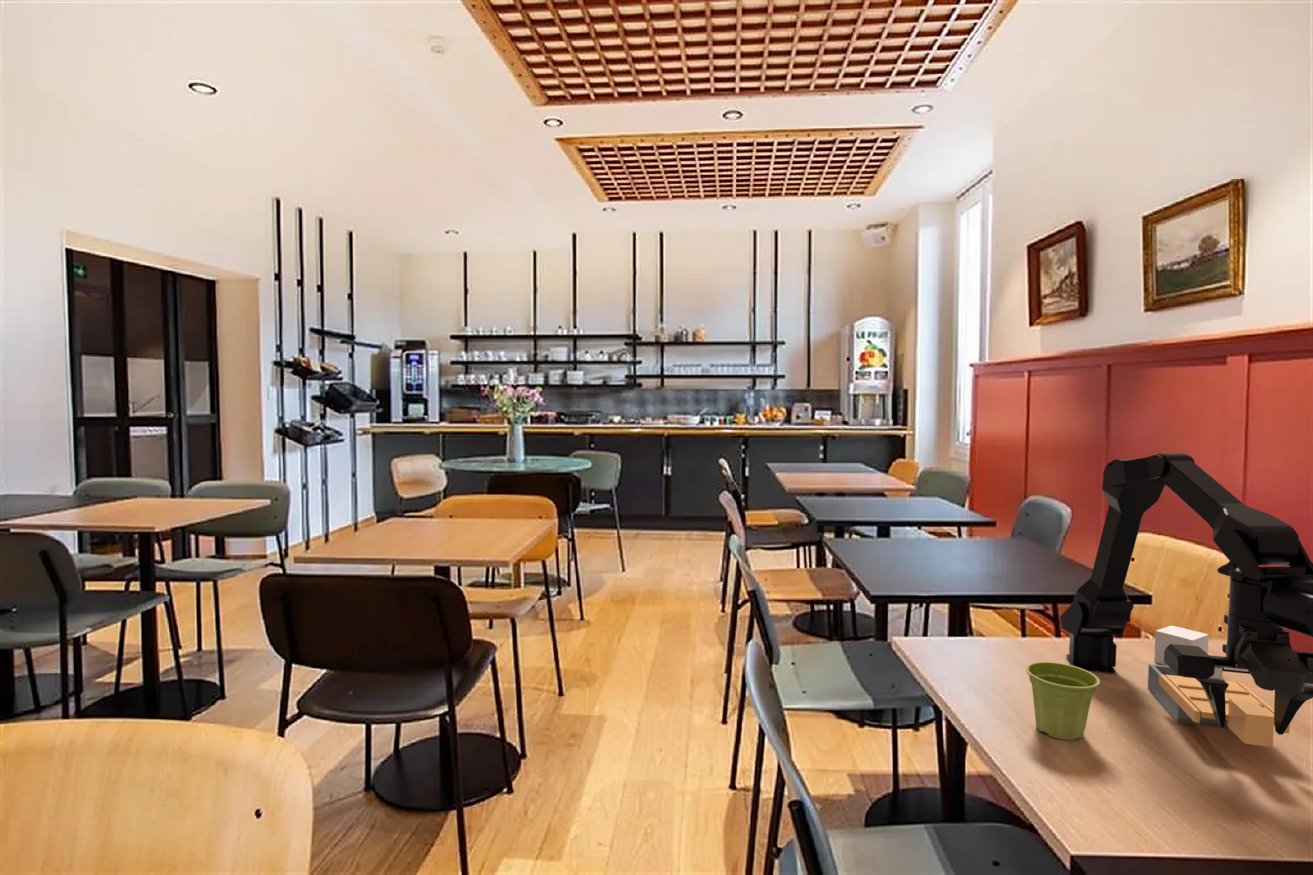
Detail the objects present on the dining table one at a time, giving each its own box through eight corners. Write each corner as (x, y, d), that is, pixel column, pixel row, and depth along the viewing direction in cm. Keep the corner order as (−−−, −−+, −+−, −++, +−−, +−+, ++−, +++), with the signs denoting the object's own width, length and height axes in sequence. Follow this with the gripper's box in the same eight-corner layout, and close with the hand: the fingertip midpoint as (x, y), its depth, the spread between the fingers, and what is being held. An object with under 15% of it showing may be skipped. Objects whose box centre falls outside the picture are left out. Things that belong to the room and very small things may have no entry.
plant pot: (1088, 722, 108) (1090, 666, 107) (1105, 751, 99) (1107, 690, 98) (1019, 713, 111) (1021, 658, 110) (1029, 741, 102) (1031, 681, 101)
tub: (1177, 722, 108) (1178, 695, 107) (1147, 688, 120) (1148, 664, 120) (1249, 731, 105) (1251, 703, 105) (1211, 695, 117) (1212, 670, 117)
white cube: (1154, 662, 132) (1155, 630, 131) (1170, 656, 135) (1171, 625, 135) (1191, 673, 127) (1193, 640, 126) (1207, 666, 130) (1208, 634, 129)
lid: (1209, 739, 95) (1210, 709, 95) (1158, 684, 113) (1159, 659, 112) (1309, 751, 92) (1311, 721, 91) (1240, 693, 109) (1242, 667, 109)
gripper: (1197, 627, 90) (1191, 747, 91) (1385, 643, 84) (1376, 771, 85) (1165, 602, 100) (1160, 710, 101) (1329, 615, 95) (1322, 729, 96)
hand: (1249, 729), depth 96 cm, fingers open, 6 cm apart
